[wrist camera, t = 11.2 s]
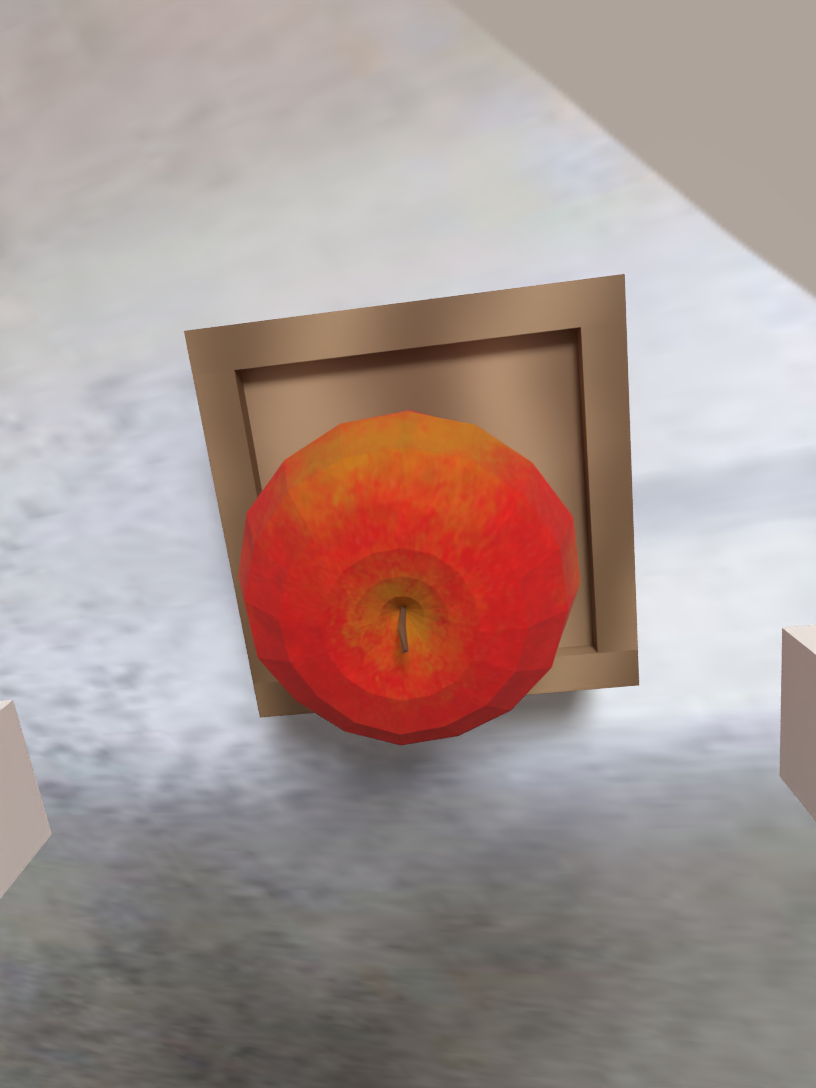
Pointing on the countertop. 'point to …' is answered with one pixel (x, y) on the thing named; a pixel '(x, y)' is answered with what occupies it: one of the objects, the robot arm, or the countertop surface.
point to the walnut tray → (456, 394)
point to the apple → (408, 576)
